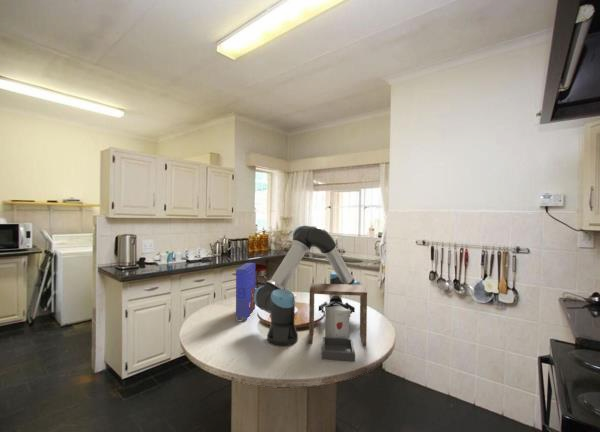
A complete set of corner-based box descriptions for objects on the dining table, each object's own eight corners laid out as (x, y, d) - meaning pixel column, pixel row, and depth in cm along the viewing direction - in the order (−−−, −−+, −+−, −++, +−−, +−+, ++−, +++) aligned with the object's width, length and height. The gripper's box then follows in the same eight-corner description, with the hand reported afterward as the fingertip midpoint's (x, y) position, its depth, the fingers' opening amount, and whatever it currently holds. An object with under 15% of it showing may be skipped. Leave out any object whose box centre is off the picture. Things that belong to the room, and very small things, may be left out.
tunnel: (309, 343, 136) (309, 290, 136) (310, 331, 150) (311, 283, 150) (366, 346, 133) (367, 292, 133) (362, 333, 147) (363, 285, 147)
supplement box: (334, 343, 136) (334, 312, 136) (324, 336, 144) (324, 307, 144) (349, 340, 140) (350, 310, 140) (339, 333, 148) (339, 304, 148)
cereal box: (246, 308, 185) (246, 262, 185) (255, 308, 185) (255, 262, 184) (235, 320, 163) (236, 269, 163) (245, 321, 163) (246, 269, 163)
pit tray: (321, 359, 121) (321, 351, 121) (322, 344, 135) (322, 337, 135) (354, 361, 120) (355, 353, 120) (352, 346, 134) (352, 338, 134)
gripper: (356, 308, 172) (360, 322, 151) (315, 306, 174) (313, 319, 153) (356, 296, 172) (360, 308, 151) (315, 294, 174) (313, 306, 153)
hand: (336, 314), depth 152 cm, fingers open, 13 cm apart
